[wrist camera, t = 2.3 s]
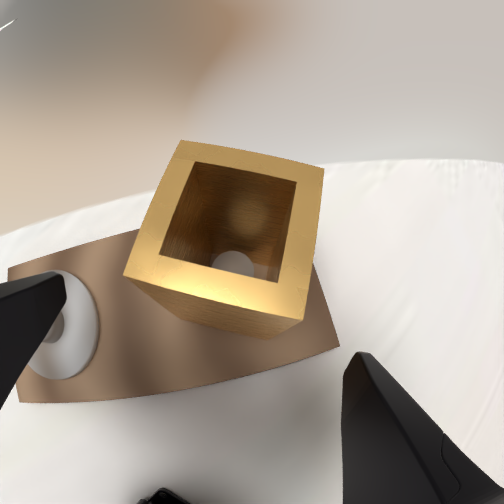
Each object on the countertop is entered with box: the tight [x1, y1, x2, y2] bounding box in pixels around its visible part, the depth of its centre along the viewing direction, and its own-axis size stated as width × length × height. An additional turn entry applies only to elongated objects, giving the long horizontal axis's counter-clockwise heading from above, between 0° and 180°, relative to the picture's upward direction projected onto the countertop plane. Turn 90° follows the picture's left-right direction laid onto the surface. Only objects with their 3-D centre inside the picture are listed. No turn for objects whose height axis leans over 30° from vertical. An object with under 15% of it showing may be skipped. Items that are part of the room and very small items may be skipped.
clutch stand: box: [8, 229, 340, 403], centre depth 16 cm, size 26×12×6 cm, turn 105°
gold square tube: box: [123, 140, 324, 340], centre depth 14 cm, size 6×6×10 cm
